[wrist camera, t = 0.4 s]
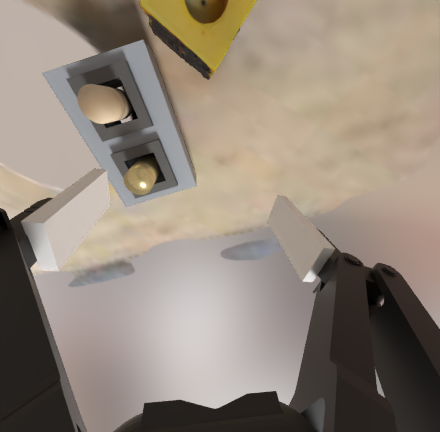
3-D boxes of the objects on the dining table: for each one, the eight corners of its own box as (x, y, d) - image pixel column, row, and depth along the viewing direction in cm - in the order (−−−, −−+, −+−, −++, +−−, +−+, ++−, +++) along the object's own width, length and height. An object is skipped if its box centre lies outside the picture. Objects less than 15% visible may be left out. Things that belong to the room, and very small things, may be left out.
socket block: (68, 78, 30) (35, 71, 24) (152, 50, 29) (141, 36, 23) (134, 194, 41) (123, 210, 35) (196, 175, 40) (196, 188, 34)
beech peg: (97, 92, 27) (69, 90, 21) (123, 84, 27) (102, 79, 21) (112, 122, 29) (91, 128, 23) (137, 114, 29) (122, 118, 23)
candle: (152, 33, 28) (134, 4, 20) (187, -50, 25) (184, -130, 16) (208, 82, 32) (213, 76, 24) (245, 17, 29) (267, -18, 20)
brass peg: (132, 159, 32) (118, 173, 26) (154, 153, 32) (145, 165, 26) (143, 181, 35) (132, 198, 28) (164, 174, 34) (157, 190, 28)
